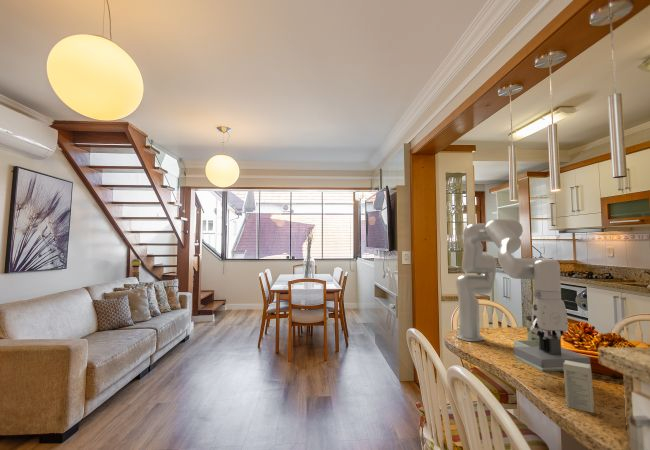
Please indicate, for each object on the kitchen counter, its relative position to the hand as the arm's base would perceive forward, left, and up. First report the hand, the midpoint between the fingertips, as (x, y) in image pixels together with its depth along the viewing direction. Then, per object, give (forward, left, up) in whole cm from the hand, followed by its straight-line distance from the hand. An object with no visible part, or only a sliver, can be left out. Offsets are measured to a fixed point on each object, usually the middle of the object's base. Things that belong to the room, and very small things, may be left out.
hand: (549, 349), depth 110 cm
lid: (0, 0, -3) cm, 3 cm away
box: (-17, +11, -11) cm, 23 cm away
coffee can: (-33, +24, -11) cm, 42 cm away
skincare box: (+16, -5, -11) cm, 20 cm away
